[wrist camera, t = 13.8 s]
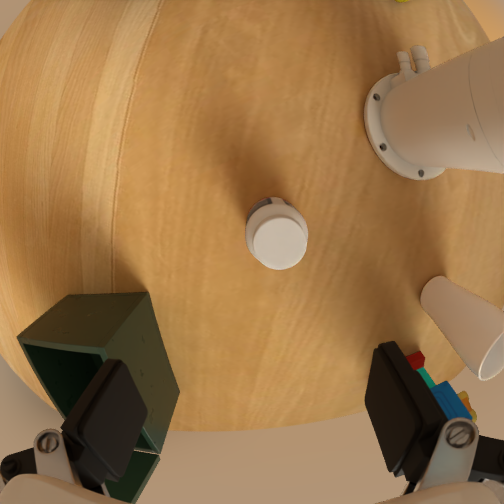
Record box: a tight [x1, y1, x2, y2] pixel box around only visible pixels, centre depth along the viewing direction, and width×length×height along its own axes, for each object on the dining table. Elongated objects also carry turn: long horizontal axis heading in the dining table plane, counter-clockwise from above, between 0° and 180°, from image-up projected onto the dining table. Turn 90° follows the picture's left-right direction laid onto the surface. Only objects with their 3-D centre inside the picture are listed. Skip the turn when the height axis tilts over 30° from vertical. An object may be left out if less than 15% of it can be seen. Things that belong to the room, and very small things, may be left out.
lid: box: [104, 450, 160, 504], centre depth 16 cm, size 17×14×6 cm
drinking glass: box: [420, 276, 504, 381], centre depth 23 cm, size 7×7×15 cm
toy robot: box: [406, 351, 477, 423], centre depth 22 cm, size 12×6×25 cm, turn 105°
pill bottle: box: [245, 197, 308, 270], centre depth 24 cm, size 5×5×9 cm
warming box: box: [17, 292, 180, 454], centre depth 28 cm, size 17×14×12 cm
